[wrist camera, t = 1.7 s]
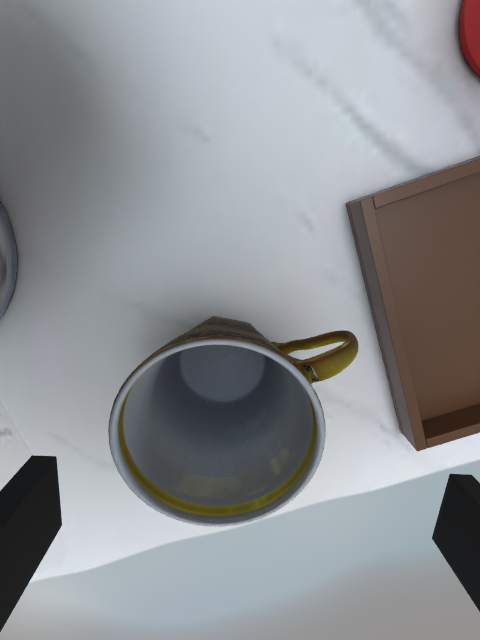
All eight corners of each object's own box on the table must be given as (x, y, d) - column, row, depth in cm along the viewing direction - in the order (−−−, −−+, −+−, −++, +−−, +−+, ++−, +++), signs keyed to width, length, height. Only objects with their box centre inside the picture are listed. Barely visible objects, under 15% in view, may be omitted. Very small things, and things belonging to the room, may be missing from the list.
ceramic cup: (205, 439, 27) (191, 558, 17) (128, 340, 24) (60, 414, 15) (347, 356, 25) (420, 435, 15) (279, 242, 23) (316, 252, 13)
